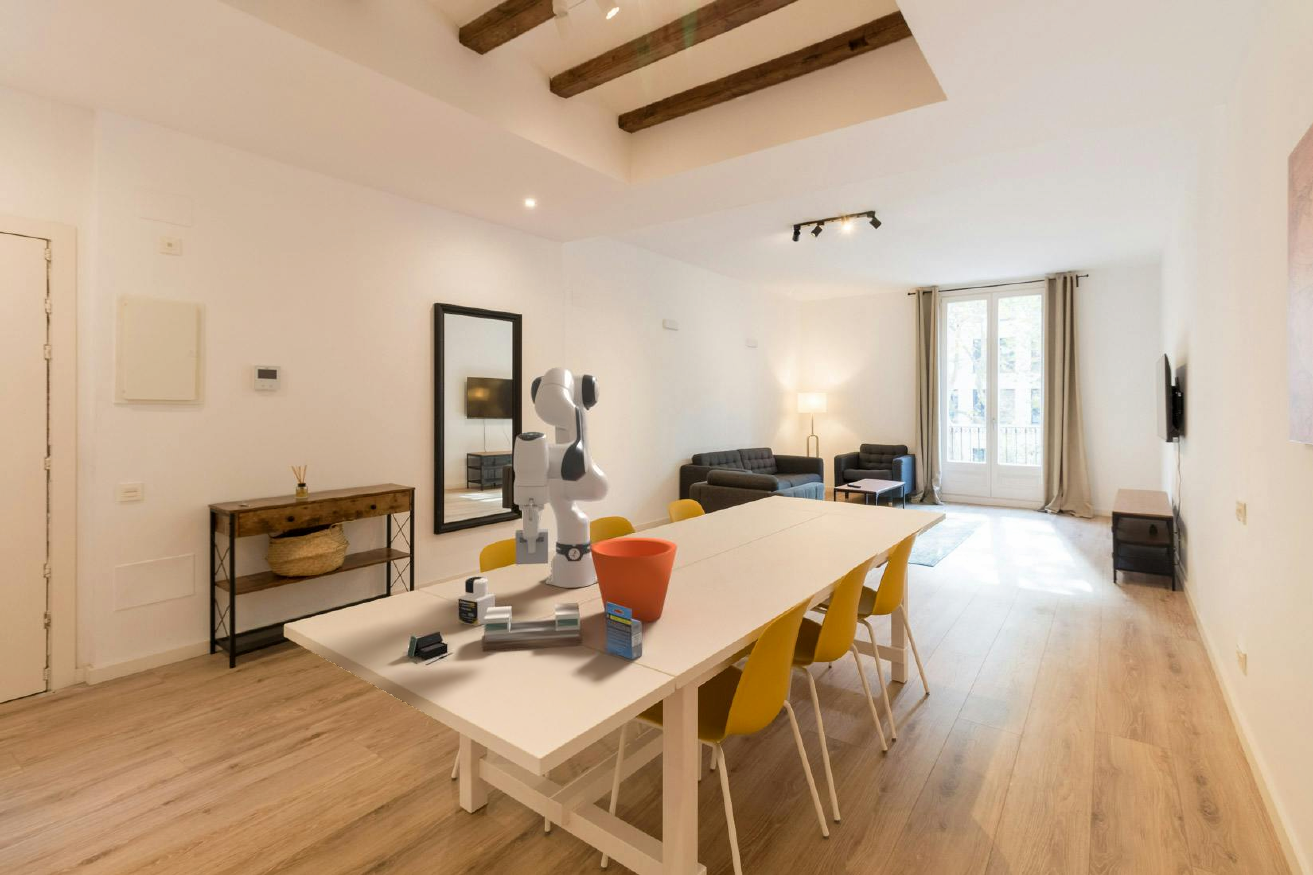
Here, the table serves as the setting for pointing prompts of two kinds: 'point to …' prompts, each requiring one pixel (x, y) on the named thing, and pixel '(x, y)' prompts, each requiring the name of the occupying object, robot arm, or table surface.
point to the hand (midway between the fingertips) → (532, 549)
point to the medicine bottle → (475, 601)
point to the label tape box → (623, 632)
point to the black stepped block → (427, 647)
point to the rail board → (531, 629)
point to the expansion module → (540, 548)
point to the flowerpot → (634, 574)
